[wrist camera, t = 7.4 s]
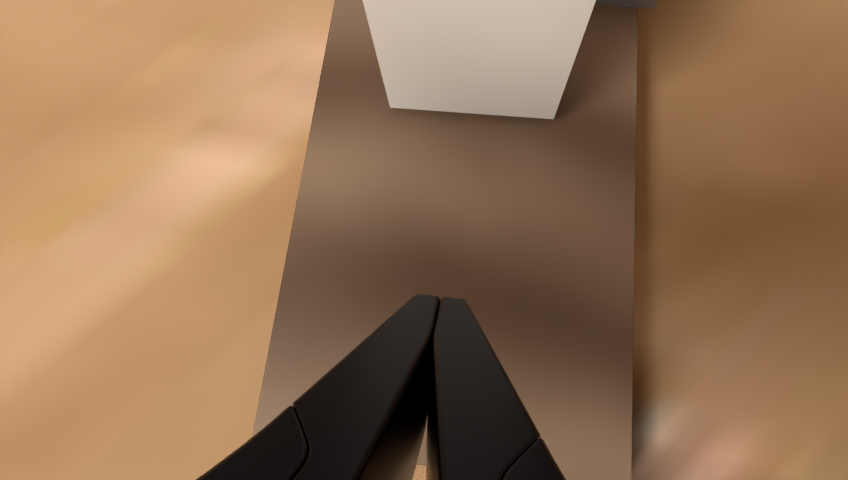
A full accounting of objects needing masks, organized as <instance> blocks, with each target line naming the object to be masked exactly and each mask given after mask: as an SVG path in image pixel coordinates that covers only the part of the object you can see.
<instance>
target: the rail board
mask: <svg viewBox="0 0 848 480" xmlns="http://www.w3.org/2000/svg"><path fill="white" fill-rule="evenodd" d="M637 28H638V8H635V7H615V6H595V5H594V7H593V10H592V13H591V16H590V19H589V21H588V24H587V27H586V30H585V33H584V35H583V38H582V41H581V44H580V47H579V49H578V52H577V55H576V58H575V61H574V63H573V66H572V69H571V72H570V75H569V78H568V80H567V83H566V86H565V89H564V92H563V94H562V97H561V100H560V103H559V106H558V108H557V111H556V114H555V117H554V119H542V118H528V117H514V116H500V115H486V114H472V113H458V112H444V111H430V110H416V109H402V108H390V105H389V102H388V98H387V94H386V90H385V86H384V82H383V78H382V74H381V70H380V67H379V63H378V59H377V55H376V51H375V47H374V43H373V39H372V35H371V32H370V28H369V24H368V20H367V16H366V12H365V8H364V4H363V0H335V3H334V8H333V13H332V18H331V24H330V29H329V34H328V40H327V45H326V50H325V55H324V61H323V66H322V71H321V76H320V82H319V87H318V92H317V98H316V103H315V108H314V113H313V119H312V124H311V129H310V134H309V140H308V145H307V150H306V156H305V161H304V166H303V171H302V177H301V182H300V187H299V192H298V198H297V203H296V208H295V213H294V219H293V224H292V229H291V235H290V240H289V245H288V250H287V256H286V261H285V266H284V271H283V277H282V282H281V287H280V293H279V298H278V303H277V308H276V314H275V319H274V324H273V329H272V335H271V340H270V345H269V351H268V356H267V361H266V366H265V372H264V377H263V382H262V387H261V393H260V398H259V403H258V409H257V414H256V419H255V424H254V430H253V435H252V437H253V436H254V435H255V434H257V433H258V432H259V431H260V430H261V429H263V428H264V427H265V426H266V425H267V424H269V423H270V422H271V421H272V420H273V419H274V418H276V417H277V416H278V415H279V414H280V413H281V412H282V411H284V410H285V409H286V408H287V407H288V406H292V404H293V402H294V401H295V400H296V399H297V398H299V397H300V396H301V395H302V394H303V393H304V392H305V391H307V390H308V389H309V388H310V387H311V386H312V385H313V384H314V383H316V382H317V381H318V380H319V379H320V378H321V377H322V376H324V375H325V374H326V373H327V372H328V371H329V370H330V369H332V368H333V367H334V366H335V365H336V364H337V363H338V362H339V361H341V360H342V359H343V358H344V357H345V356H346V355H347V354H349V353H350V352H351V351H352V350H353V349H354V348H355V347H356V346H358V345H359V344H360V343H361V342H362V341H363V340H364V339H366V338H367V337H368V336H369V335H370V334H371V333H372V332H373V331H375V330H376V329H377V328H378V327H379V326H380V325H381V324H383V323H384V322H385V321H386V320H387V319H388V318H389V317H390V316H392V315H393V314H394V313H395V312H396V311H397V310H398V309H400V308H401V307H402V306H403V305H404V304H405V303H406V302H407V301H409V300H410V299H411V298H412V297H413V296H414V295H416V294H424V295H434V296H438V297H439V298H440V300H441V298H443V297H453V298H462V299H465V300H466V301H467V303H468V305H469V307H470V308H471V310H472V312H473V314H474V316H475V317H476V319H477V321H478V323H479V325H480V326H481V328H482V330H483V332H484V334H485V336H486V337H487V339H488V341H489V343H490V345H491V346H492V348H493V350H494V352H495V354H496V355H497V357H498V359H499V361H500V363H501V364H502V366H503V368H504V370H505V372H506V374H507V375H508V377H509V379H510V381H511V383H512V384H513V386H514V388H515V390H516V392H517V393H518V395H519V397H520V399H521V401H522V402H523V404H524V406H525V408H526V410H527V412H528V413H529V415H530V417H531V419H532V421H533V422H534V424H535V426H536V428H537V430H538V431H539V433H540V435H541V439H543V440H544V442H545V444H546V445H547V447H548V449H549V451H550V453H551V455H552V456H553V458H554V460H555V462H556V463H557V465H558V467H559V468H560V470H561V472H562V473H563V475H564V477H565V478H566V480H631V459H632V387H633V315H634V243H635V172H636V100H637ZM427 419H428V417H427ZM426 441H427V423H426V428H425V433H424V437H423V441H422V445H421V448H420V452H419V456H418V460H417V463H416V464H418V465H425V466H426Z"/></svg>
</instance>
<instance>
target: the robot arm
mask: <svg viewBox="0 0 848 480" xmlns="http://www.w3.org/2000/svg"><path fill="white" fill-rule="evenodd" d="M427 417H428V419H427ZM426 423H427V441H426V480H566V478H565V477H564V475H563V473H562V472H561V470H560V468H559V467H558V465H557V463H556V462H555V460H554V458H553V456H552V455H551V453H550V451H549V449H548V447H547V445H546V444H545V442H544V440H543V439H541V435H540V433H539V431H538V430H537V428H536V426H535V424H534V422H533V421H532V419H531V417H530V415H529V413H528V412H527V410H526V408H525V406H524V404H523V402H522V401H521V399H520V397H519V395H518V393H517V392H516V390H515V388H514V386H513V384H512V383H511V381H510V379H509V377H508V375H507V374H506V372H505V370H504V368H503V366H502V364H501V363H500V361H499V359H498V357H497V355H496V354H495V352H494V350H493V348H492V346H491V345H490V343H489V341H488V339H487V337H486V336H485V334H484V332H483V330H482V328H481V326H480V325H479V323H478V321H477V319H476V317H475V316H474V314H473V312H472V310H471V308H470V307H469V305H468V303H467V301H466V300H465V299H462V298H453V297H443V298H441V300H440V298H439V297H438V296H434V295H424V294H416V295H414V296H413V297H412V298H411V299H410V300H409V301H407V302H406V303H405V304H404V305H403V306H402V307H401V308H400V309H398V310H397V311H396V312H395V313H394V314H393V315H392V316H390V317H389V318H388V319H387V320H386V321H385V322H384V323H383V324H381V325H380V326H379V327H378V328H377V329H376V330H375V331H373V332H372V333H371V334H370V335H369V336H368V337H367V338H366V339H364V340H363V341H362V342H361V343H360V344H359V345H358V346H356V347H355V348H354V349H353V350H352V351H351V352H350V353H349V354H347V355H346V356H345V357H344V358H343V359H342V360H341V361H339V362H338V363H337V364H336V365H335V366H334V367H333V368H332V369H330V370H329V371H328V372H327V373H326V374H325V375H324V376H322V377H321V378H320V379H319V380H318V381H317V382H316V383H314V384H313V385H312V386H311V387H310V388H309V389H308V390H307V391H305V392H304V393H303V394H302V395H301V396H300V397H299V398H297V399H296V400H295V401H294V402H293V404H292V406H288V407H287V408H286V409H285V410H284V411H282V412H281V413H280V414H279V415H278V416H277V417H276V418H274V419H273V420H272V421H271V422H270V423H269V424H267V425H266V426H265V427H264V428H263V429H261V430H260V431H259V432H258V433H257V434H255V435H254V436H253V437H252V438H251V439H249V440H248V441H247V442H246V443H245V444H243V445H242V446H241V447H239V448H238V449H237V450H235V451H234V452H233V453H231V454H230V455H229V456H227V457H226V458H225V459H223V460H222V461H221V462H219V463H218V464H217V465H215V466H214V467H213V468H211V469H210V470H209V471H207V472H206V473H205V474H203V475H202V476H200V477H199V478H198V479H196V480H412V478H413V474H414V471H415V467H416V463H417V460H418V456H419V452H420V448H421V445H422V441H423V437H424V433H425V428H426Z"/></svg>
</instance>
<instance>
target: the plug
mask: <svg viewBox="0 0 848 480" xmlns="http://www.w3.org/2000/svg"><path fill="white" fill-rule="evenodd" d="M595 2H596V0H363V4H364V8H365V12H366V16H367V20H368V24H369V28H370V32H371V35H372V39H373V43H374V47H375V51H376V55H377V59H378V63H379V67H380V70H381V74H382V78H383V82H384V86H385V90H386V94H387V98H388V102H389V105H390V108H402V109H416V110H430V111H444V112H458V113H472V114H486V115H500V116H514V117H528V118H542V119H554V117H555V114H556V111H557V108H558V106H559V103H560V100H561V97H562V94H563V92H564V89H565V86H566V83H567V80H568V78H569V75H570V72H571V69H572V66H573V63H574V61H575V58H576V55H577V52H578V49H579V47H580V44H581V41H582V38H583V35H584V33H585V30H586V27H587V24H588V21H589V19H590V16H591V13H592V10H593V7H594V5H595Z"/></svg>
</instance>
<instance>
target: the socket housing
mask: <svg viewBox="0 0 848 480" xmlns="http://www.w3.org/2000/svg"><path fill="white" fill-rule="evenodd" d="M657 1H658V0H596V2H595V6H615V7H635V8H654V7H655V5H656V3H657Z"/></svg>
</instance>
